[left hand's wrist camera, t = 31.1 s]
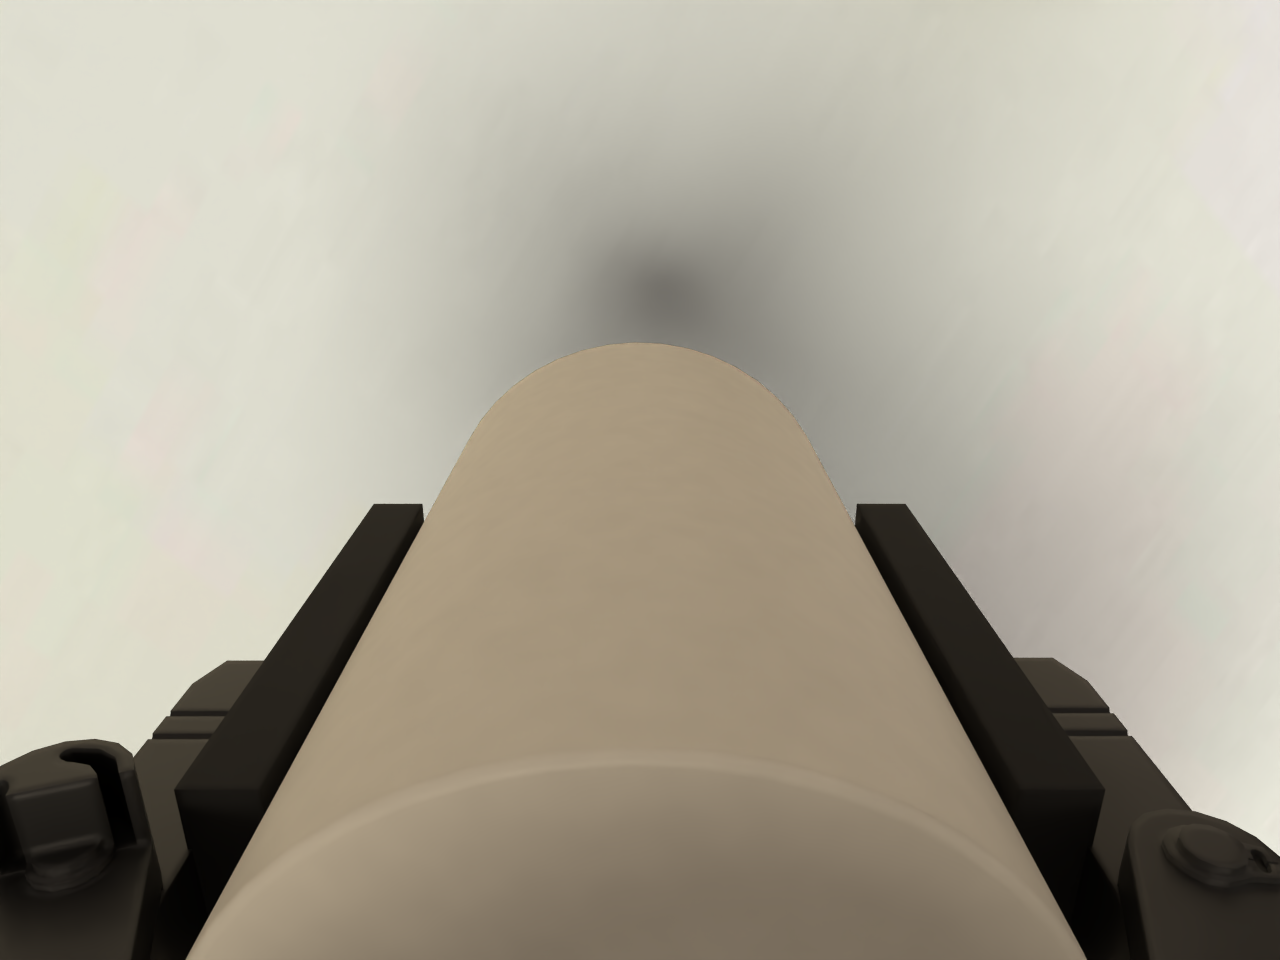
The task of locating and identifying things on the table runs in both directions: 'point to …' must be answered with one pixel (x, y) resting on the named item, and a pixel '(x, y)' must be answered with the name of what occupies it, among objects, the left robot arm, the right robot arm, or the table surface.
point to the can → (637, 716)
